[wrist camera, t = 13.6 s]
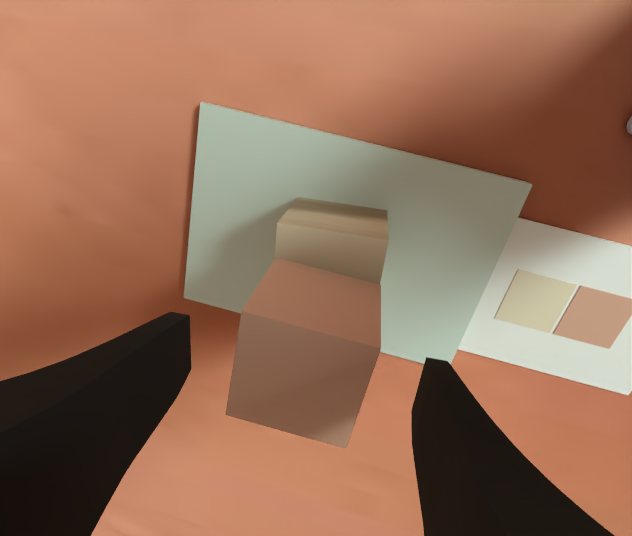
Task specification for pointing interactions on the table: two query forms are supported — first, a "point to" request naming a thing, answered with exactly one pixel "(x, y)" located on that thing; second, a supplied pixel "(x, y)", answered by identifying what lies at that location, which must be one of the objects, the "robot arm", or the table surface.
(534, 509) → the robot arm
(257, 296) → the pinkish tan cube
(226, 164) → the plate
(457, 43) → the table surface
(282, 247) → the beech block
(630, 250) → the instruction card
